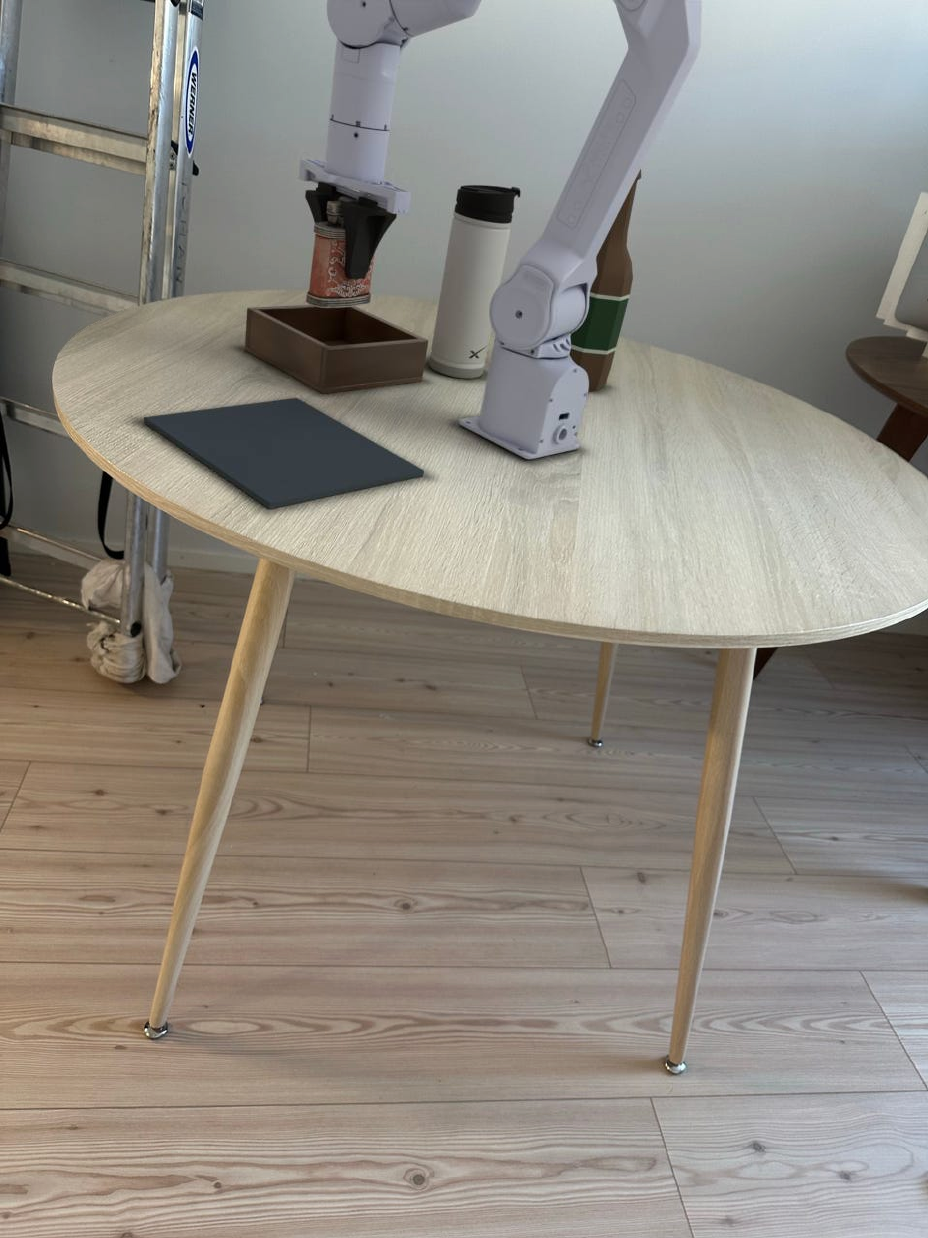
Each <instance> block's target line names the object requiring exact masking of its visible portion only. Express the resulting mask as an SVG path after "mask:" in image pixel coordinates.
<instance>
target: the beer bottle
mask: <svg viewBox="0 0 928 1238" xmlns="http://www.w3.org/2000/svg"><path fill="white" fill-rule="evenodd" d="M641 179H642V168H641V169H640V171H639V173H638V175H637V177H636V179H635V181H634V183H633V185H632V187H631V189H630V191H629V193H628V195H627V197H626V199H625V201H624V203H623V205H622V207H621V209H620V211H619V213H618V215H617V217H616V219H615V221H614V223H613V225H612V226H611V228H610V230H609V232H608V234H607V236H606V238H605V240H604V242H603V244H602V246H601V248H600V250H599V252H598V254H597V256H596V264H597V276H596V278H595V280H594V281H593V284H592V286H591V289H590V294H589V309H588V313H587V316H586V318H585V320H584V322H583V324H582V325H581V326H580V327H579V328H578V329H577V330H576V331H574V332H573V333H571V336H570V340H571V350H570V354H569V355H570V357H571V359H572V360H573V361H574V363H575V364H577V365H578V366H580V367H581V368H583V369H584V370H585V371H586V373H587V375H588V379H589V390H588V392H596V391H599V390H601V389H603V388H604V387H605V386H606V384H607V382H608V378H609V376H610V372H611V369H612V365H613V362H614V358H615V354H616V350H617V345H618V342H619V338H620V334H621V331H622V326H623V323H624V319H625V315H626V312H627V308H628V303H629V299H630V296H631V291H632V286H633V280H634V274H633V273H634V272H633V261H632V259H631V256H630V253H629V249H628V233H629V227H630V222H631V217H632V211H633V206H634V201H635V196H636V190H637V184H638V181H639V180H641Z"/></svg>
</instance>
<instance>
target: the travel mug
mask: <svg viewBox="0 0 928 1238" xmlns="http://www.w3.org/2000/svg"><path fill="white" fill-rule="evenodd" d="M516 196H517V198H521V189H520V188H519V187H517V186H511V187H505V186H497V185H485V184H484V185H483V184H468V185H467V184H466V185H461V186H460V188H458V189H457V192H456V198H455V201H456V203H455V205H454V210H453V218H452V221H451V226H450V231H449V239H448V244H447V249H446V250H447V251H446V255H445V256H446V257H445V262H444V268H443V273H442V274H443V275H442V281H441V288H440V292H439V299H438V305H437V311H436V312H437V313H436V318H435V324H434V329H433V337H432V344H431V349H430V350H431V351H430V354H429V361H428V364H429V367H430V368H431V369H432V370H433V371H435V372H437V373H439V374H441V375H444V376H448V377H450V378H456V379H464V380H466V379H467V380H468V379H469V380H470V379H471V380H472V379H478V378H479V377H481V376H482V375H483V373H484V369H485V366H486V365H485V364H486V362H485V361H486V359H487V355H488V348H489V343H490V338H491V333H492V329H493V328H492V326H491V322H490V317H489V308H490V302H491V298H492V296H493V294H494V292H495V291H496V289H497V288H498V287H499V286H500V285H501V281H502V275H503V271H504V266H505V261H506V255H507V250H508V244H509V239H510V234H511V227H512V224H513V222H512V221H513V213H514V212H515V197H516Z"/></svg>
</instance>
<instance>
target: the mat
mask: <svg viewBox="0 0 928 1238" xmlns="http://www.w3.org/2000/svg"><path fill="white" fill-rule="evenodd" d="M143 423H144V424H146V425H147V426H148V427H150V428H151V429H153V430H154V431H155V432H156V433H158V434H160V435H161V436H163V437H164V438H165V439H167V440H169V441H170V442H171V443H173V444H174V445H176V446H178V447H179V448H180V449H182V450H183V451H185V452H186V453H187V454H189V455H190V456H191V457H193V458H195V459H196V460H198V461H199V462H201V463H202V464H204V465H205V466H206V467H207V468H209V469H211V470H212V471H213V472H215V473H216V474H218V475H219V476H221V477H222V478H224V480H227V481H228V482H230V483H231V484H232V485H234V486H235V487H237V488H238V489H239V490H241V491H242V492H244V493H245V494H247V495H249V497H251V498H253V499H254V500H255V501H256V502H258V503H260V504H261V505H263V506H264V507H266V508H267V509H268V510H271V509H276V508H280V507H285V506H289V505H294V504H299V503H303V502H307V501H308V502H309V501H314V500H316V499H322V498H327V497H331V496H335V495H341V494H345V493H351V492H355V491H359V490H364V489H369V488H373V487H378V486H382V485H387V484H392V483H396V482H401V481H406V480H411V479H415V478H418V477H423V476H424V474H425V470H424V469H422V468H420V467H419V466H417V465H415V464H413V463H411V462H410V461H408V460H406V459H404V457H401V456H399V455H398V454H395V453H394V452H392V451H390V450H389V449H387V448H386V447H384V446H382V445H381V444H378V443H377V442H375V441H373V440H372V439H370V438H368V437H366V436H365V435H363V434H361V433H359V432H358V431H355V430H354V429H352V428H350V427H349V426H347V425H346V424H344V423H341V422H340V421H338V420H336V419H334V418H333V417H331V416H329V415H328V414H326V413H324V412H322V411H320V410H319V409H317V408H315V407H313V406H312V405H310V404H309V403H307V402H305V401H303V400H301V399H299V398H298V397H293V398H285V399H276V400H270V401H261V402H254V403H253V402H252V403H245V404H238V405H237V404H236V405H230V406H229V405H228V406H222V407H213V408H205V409H198V410H190V411H181V412H175V413H166V414H165V413H164V414H158V415H150V416H143Z"/></svg>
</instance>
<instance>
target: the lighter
mask: <svg viewBox="0 0 928 1238" xmlns="http://www.w3.org/2000/svg"><path fill="white" fill-rule="evenodd" d="M341 201H344V202H358V199H355V200H353V199H350V198H347V197H345V196H341V197H340V198H339V199H338V201H328V204H327V213H328V215H327V217H328V222H317V223H315V222H314V226H313V233H314V243H313V252H312V261H311V269H310V279H309V287H308V291H306V297H305V303H306V304H307V305H313V306H316V307H321V308H340V307H352V306H356V307H358V306H363V305H367V304H368V305H369V304H370V303H371V298H372V293H371V292H370V290H371V284H372V278H373V277H372V276H373V270H374V263H375V257H376V252H375V253H374V256H373V258H372V261H371V264H370V266H369V269H368V272H367V274H366V277H365V279H348V278H346V276H345V250H346V234H345V225H344V218H343V214H342V210H341V206H340V205H341Z"/></svg>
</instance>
